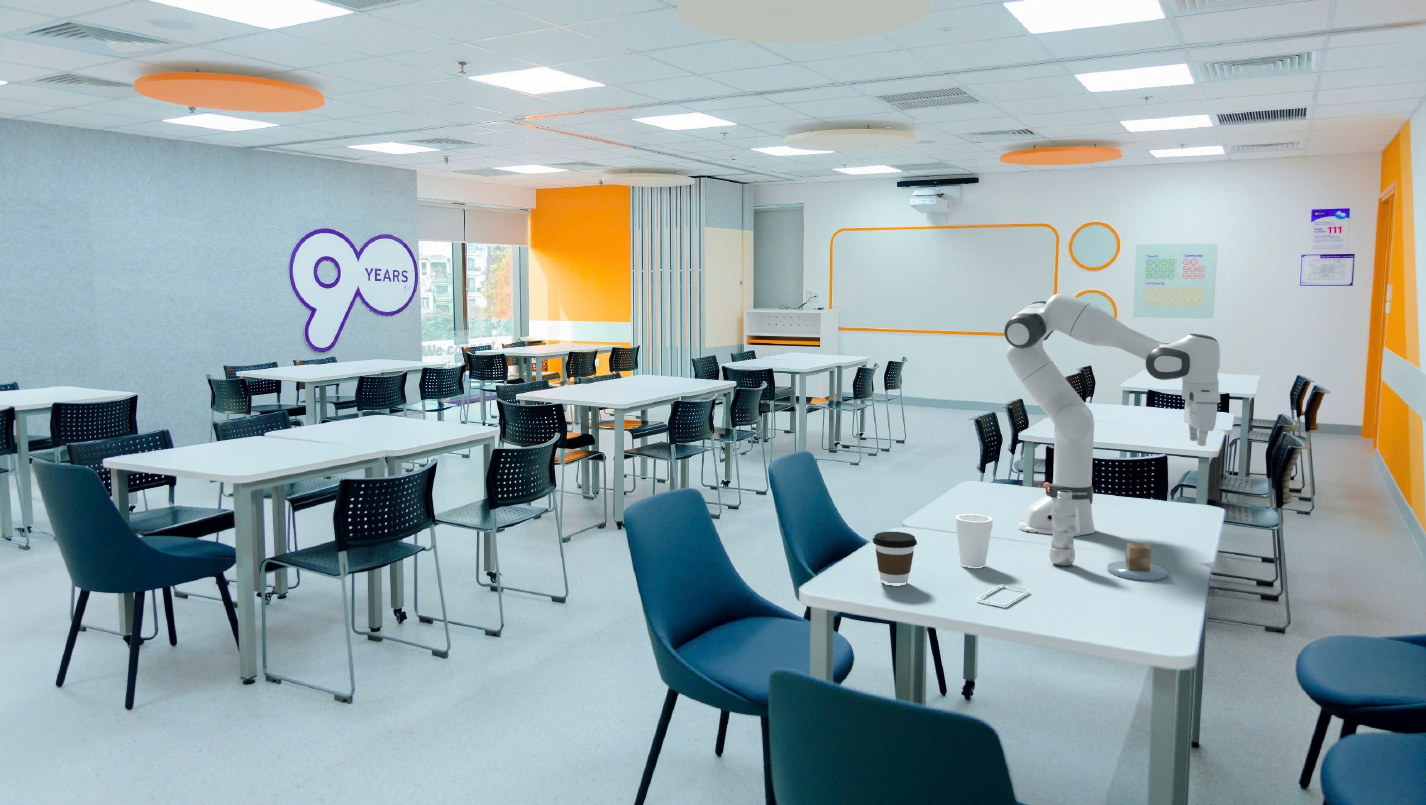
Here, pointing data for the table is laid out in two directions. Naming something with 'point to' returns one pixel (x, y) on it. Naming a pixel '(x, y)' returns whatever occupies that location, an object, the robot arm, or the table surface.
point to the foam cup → (973, 538)
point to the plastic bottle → (1063, 529)
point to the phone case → (1008, 602)
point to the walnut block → (1138, 557)
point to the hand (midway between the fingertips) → (1197, 443)
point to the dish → (1137, 572)
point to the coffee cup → (894, 555)
